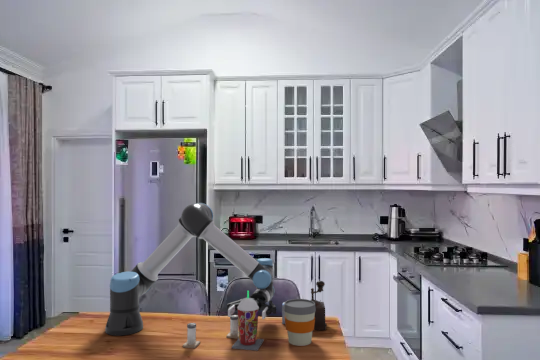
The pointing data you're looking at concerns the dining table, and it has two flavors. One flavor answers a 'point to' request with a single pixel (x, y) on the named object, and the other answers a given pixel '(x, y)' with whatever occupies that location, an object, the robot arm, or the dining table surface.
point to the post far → (233, 327)
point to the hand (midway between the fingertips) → (245, 314)
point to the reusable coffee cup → (299, 321)
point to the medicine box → (283, 314)
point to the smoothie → (248, 320)
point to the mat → (248, 347)
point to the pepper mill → (319, 309)
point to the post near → (191, 336)
